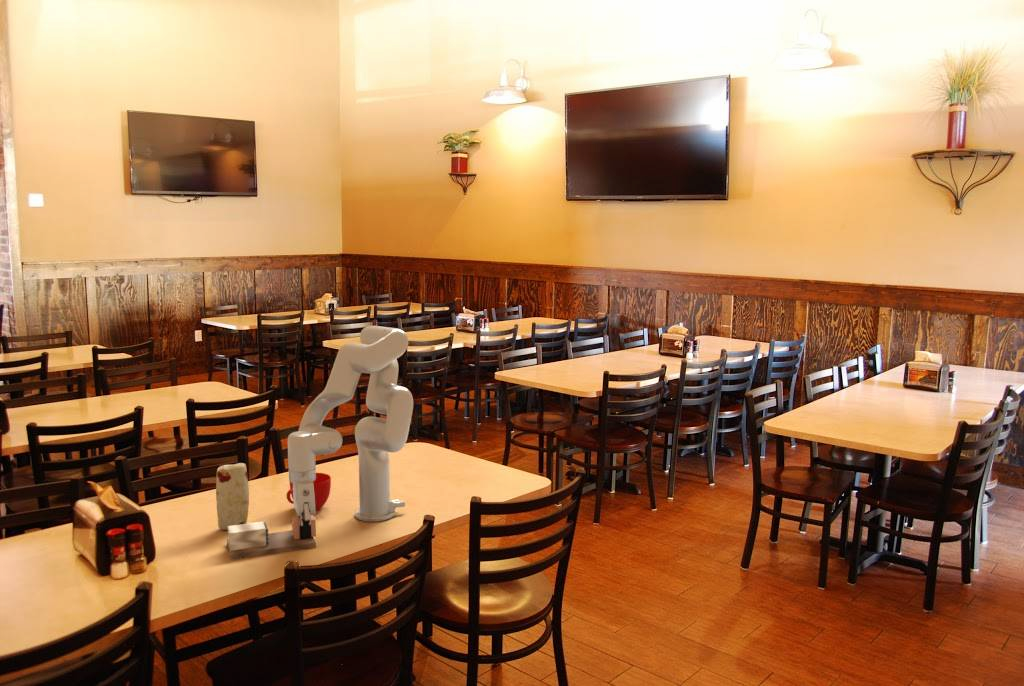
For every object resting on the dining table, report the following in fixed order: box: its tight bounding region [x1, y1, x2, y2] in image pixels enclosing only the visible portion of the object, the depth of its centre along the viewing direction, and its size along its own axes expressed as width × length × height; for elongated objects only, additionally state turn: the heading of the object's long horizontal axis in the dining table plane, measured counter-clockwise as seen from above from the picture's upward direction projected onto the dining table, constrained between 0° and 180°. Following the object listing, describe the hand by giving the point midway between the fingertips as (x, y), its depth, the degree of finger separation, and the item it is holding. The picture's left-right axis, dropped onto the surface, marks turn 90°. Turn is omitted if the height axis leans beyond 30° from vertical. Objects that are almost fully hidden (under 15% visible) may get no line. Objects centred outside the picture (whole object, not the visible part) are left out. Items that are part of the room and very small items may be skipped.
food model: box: [215, 462, 250, 531], centre depth 244 cm, size 10×7×20 cm
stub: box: [291, 514, 317, 539], centre depth 235 cm, size 6×4×5 cm, turn 114°
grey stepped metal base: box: [226, 521, 317, 561], centre depth 232 cm, size 23×12×6 cm, turn 114°
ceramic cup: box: [286, 472, 332, 512], centre depth 261 cm, size 13×17×10 cm
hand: (304, 535), depth 236 cm, fingers closed on stub, 4 cm apart
